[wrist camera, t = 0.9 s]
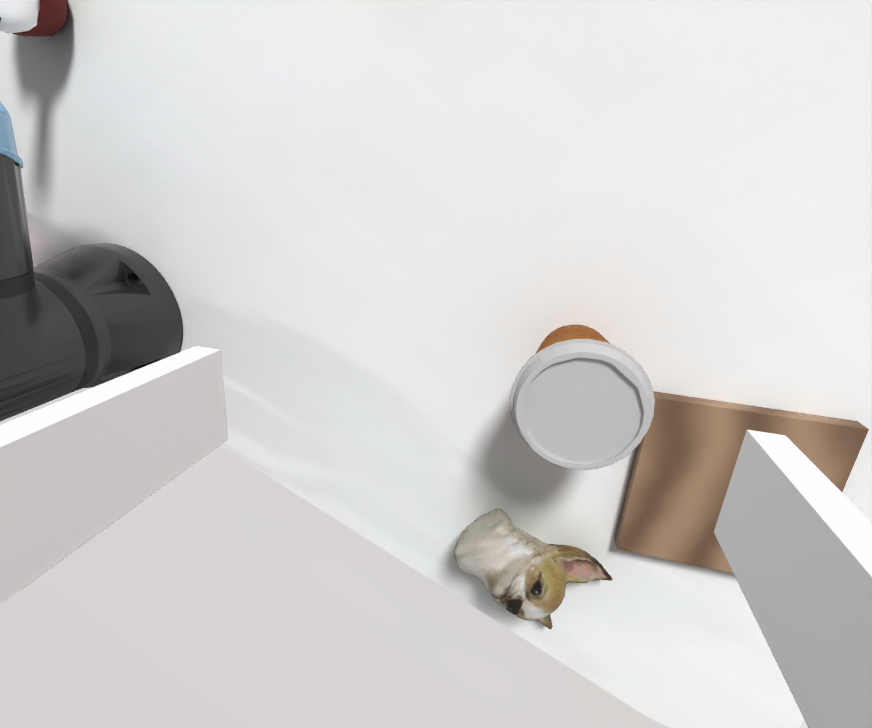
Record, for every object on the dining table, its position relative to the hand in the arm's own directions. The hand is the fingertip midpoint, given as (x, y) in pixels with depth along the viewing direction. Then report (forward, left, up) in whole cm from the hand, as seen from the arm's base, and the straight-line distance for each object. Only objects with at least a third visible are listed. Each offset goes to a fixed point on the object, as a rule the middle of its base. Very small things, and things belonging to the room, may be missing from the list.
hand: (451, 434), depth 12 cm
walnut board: (+20, -17, -32) cm, 42 cm away
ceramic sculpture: (+4, -29, -32) cm, 43 cm away
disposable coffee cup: (+5, -7, -32) cm, 33 cm away
